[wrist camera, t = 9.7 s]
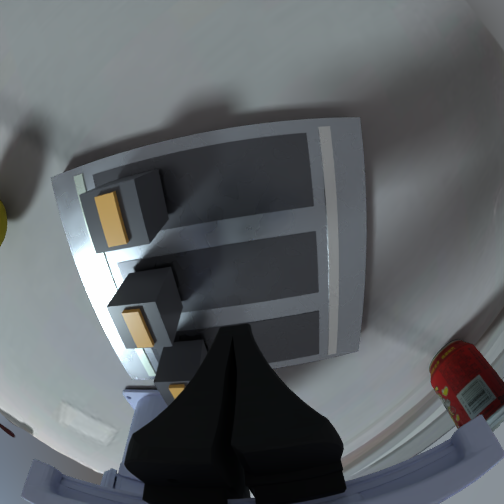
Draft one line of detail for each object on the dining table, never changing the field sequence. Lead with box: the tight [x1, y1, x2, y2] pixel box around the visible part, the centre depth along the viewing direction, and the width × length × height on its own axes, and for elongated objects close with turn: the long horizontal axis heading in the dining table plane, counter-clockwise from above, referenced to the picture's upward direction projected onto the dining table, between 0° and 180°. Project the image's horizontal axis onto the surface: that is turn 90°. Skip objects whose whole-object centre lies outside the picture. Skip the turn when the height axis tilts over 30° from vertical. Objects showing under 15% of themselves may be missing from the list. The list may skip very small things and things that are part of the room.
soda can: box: [429, 339, 504, 432], centre depth 20 cm, size 7×7×12 cm
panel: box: [51, 117, 367, 379], centre depth 18 cm, size 18×20×2 cm
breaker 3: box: [154, 339, 207, 406], centre depth 18 cm, size 3×3×4 cm
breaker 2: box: [106, 267, 183, 349], centre depth 15 cm, size 3×3×4 cm
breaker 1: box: [79, 169, 169, 254], centre depth 13 cm, size 3×3×4 cm
